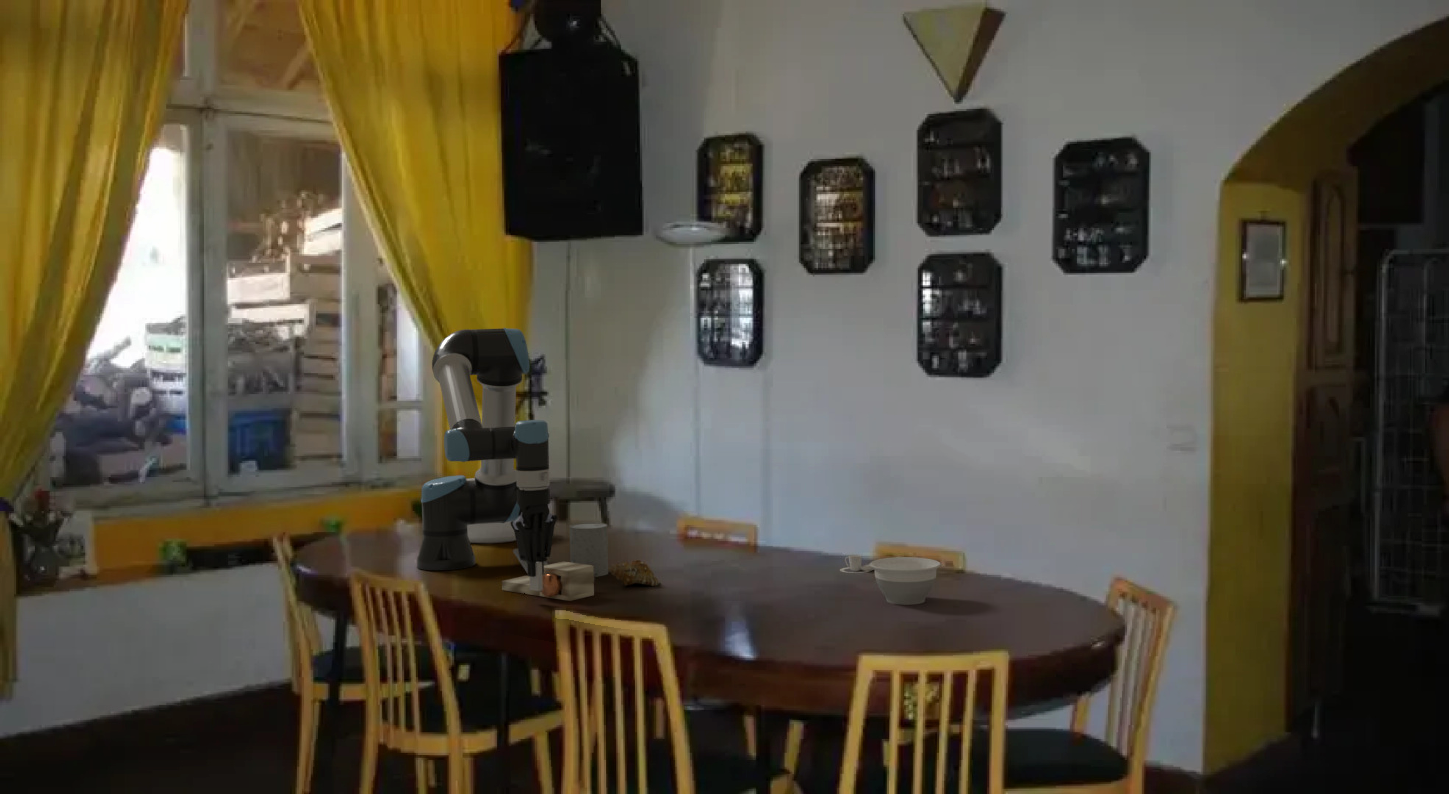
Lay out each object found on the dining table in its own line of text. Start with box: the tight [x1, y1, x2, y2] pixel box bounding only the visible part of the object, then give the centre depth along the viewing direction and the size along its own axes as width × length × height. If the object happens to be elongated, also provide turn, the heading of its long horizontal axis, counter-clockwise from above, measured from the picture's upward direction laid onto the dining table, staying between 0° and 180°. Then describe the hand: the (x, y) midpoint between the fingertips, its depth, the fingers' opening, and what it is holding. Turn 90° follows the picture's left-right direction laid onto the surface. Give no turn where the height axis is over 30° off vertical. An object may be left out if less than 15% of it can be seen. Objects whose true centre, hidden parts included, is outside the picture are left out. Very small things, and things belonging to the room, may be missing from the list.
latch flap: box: [512, 548, 550, 575], centre depth 348 cm, size 11×7×1 cm
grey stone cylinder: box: [568, 522, 609, 578], centre depth 369 cm, size 10×10×12 cm
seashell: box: [608, 559, 659, 587], centre depth 353 cm, size 9×8×10 cm
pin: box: [541, 572, 596, 598], centre depth 343 cm, size 5×14×5 cm, turn 141°
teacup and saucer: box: [839, 554, 875, 574], centre depth 367 cm, size 9×8×4 cm
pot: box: [466, 477, 516, 544], centre depth 429 cm, size 26×24×17 cm
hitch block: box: [501, 561, 595, 602], centre depth 346 cm, size 23×8×7 cm, turn 51°
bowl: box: [869, 556, 942, 606], centre depth 329 cm, size 16×16×9 cm
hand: (536, 589), depth 334 cm, fingers closed
